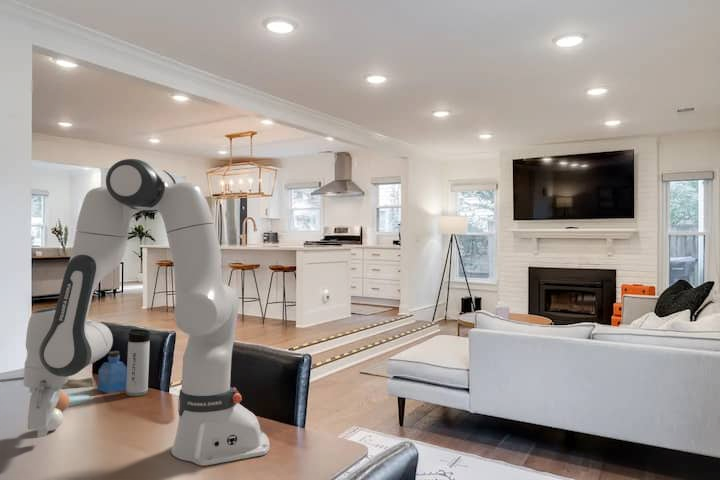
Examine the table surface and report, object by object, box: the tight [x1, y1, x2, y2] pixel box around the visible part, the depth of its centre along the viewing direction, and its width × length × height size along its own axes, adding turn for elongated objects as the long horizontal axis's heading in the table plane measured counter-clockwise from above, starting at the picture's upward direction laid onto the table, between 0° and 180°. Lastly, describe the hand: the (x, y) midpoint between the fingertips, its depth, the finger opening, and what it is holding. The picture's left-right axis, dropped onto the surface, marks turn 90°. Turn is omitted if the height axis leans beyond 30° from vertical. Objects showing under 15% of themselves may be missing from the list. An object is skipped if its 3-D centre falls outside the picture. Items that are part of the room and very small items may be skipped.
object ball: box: [55, 391, 69, 413], centre depth 138 cm, size 6×6×6 cm
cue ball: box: [48, 408, 64, 432], centre depth 125 cm, size 6×6×6 cm
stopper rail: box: [61, 376, 94, 389], centre depth 161 cm, size 14×2×2 cm, turn 115°
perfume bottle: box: [97, 350, 127, 394], centre depth 160 cm, size 6×6×12 cm
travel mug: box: [125, 328, 151, 397], centre depth 157 cm, size 6×7×20 cm
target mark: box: [64, 392, 90, 408], centre depth 148 cm, size 14×14×1 cm
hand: (43, 434), depth 117 cm, fingers closed
